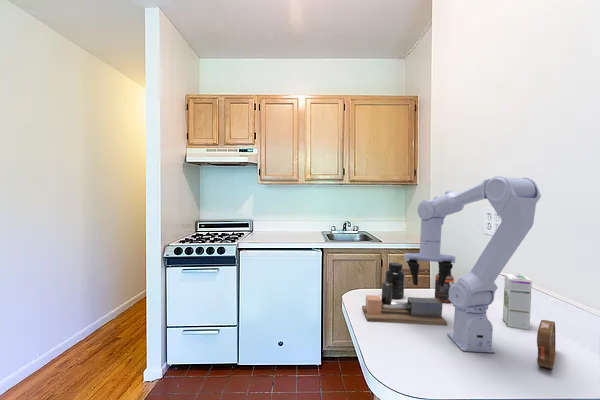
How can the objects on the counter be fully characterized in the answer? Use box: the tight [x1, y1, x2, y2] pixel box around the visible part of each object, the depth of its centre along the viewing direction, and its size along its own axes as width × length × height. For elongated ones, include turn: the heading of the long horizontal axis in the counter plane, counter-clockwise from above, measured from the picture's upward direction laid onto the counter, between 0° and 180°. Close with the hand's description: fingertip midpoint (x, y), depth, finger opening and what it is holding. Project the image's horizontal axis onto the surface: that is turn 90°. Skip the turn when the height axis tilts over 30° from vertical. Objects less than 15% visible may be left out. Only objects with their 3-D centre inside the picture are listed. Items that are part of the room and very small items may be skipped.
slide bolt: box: [381, 281, 411, 311], centre depth 100 cm, size 3×13×8 cm, turn 87°
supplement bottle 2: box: [434, 269, 455, 304], centre depth 116 cm, size 6×6×11 cm
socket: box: [364, 294, 382, 315], centre depth 100 cm, size 4×4×4 cm
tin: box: [536, 319, 556, 370], centre depth 77 cm, size 15×3×8 cm, turn 139°
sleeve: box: [407, 296, 443, 318], centre depth 100 cm, size 4×9×4 cm, turn 87°
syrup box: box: [502, 273, 533, 331], centre depth 97 cm, size 6×6×14 cm
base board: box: [362, 305, 448, 326], centre depth 100 cm, size 10×23×1 cm, turn 87°
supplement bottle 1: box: [384, 262, 406, 300], centre depth 119 cm, size 7×7×12 cm
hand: (427, 285), depth 99 cm, fingers open, 7 cm apart
